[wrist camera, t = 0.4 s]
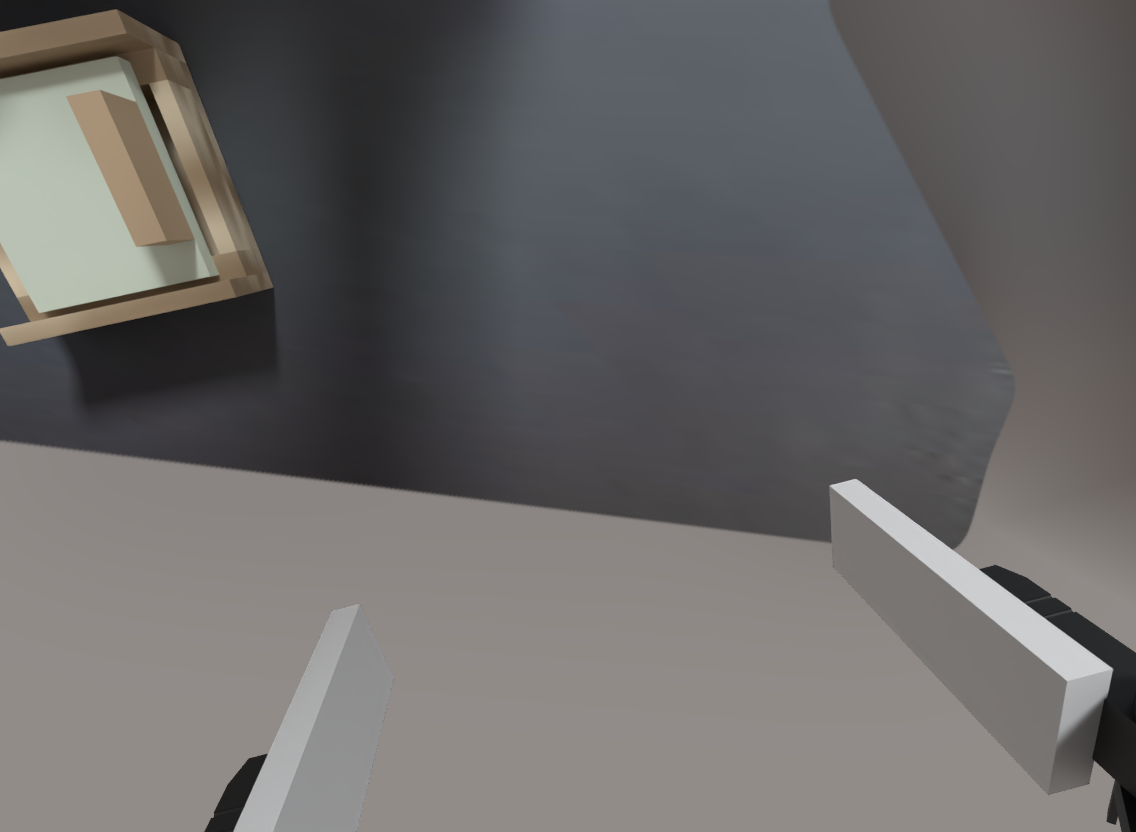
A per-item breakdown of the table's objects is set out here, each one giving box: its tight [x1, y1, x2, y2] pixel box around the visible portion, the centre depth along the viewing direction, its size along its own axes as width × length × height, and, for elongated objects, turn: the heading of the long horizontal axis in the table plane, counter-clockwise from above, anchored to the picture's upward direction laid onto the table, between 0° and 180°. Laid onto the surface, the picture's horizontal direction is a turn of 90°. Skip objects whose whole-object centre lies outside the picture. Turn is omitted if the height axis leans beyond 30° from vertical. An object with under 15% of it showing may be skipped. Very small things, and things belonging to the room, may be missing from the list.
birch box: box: [0, 9, 274, 346], centre depth 30 cm, size 14×13×5 cm
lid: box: [0, 56, 219, 313], centre depth 28 cm, size 11×10×4 cm
